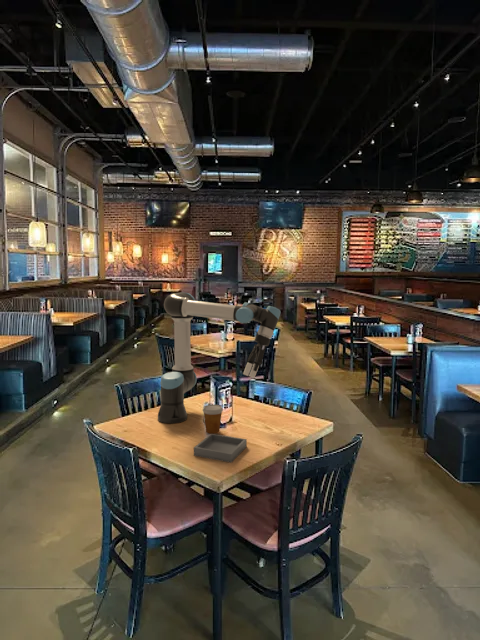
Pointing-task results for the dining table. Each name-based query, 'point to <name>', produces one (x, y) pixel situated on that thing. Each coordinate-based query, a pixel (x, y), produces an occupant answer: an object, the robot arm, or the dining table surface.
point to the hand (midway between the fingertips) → (248, 376)
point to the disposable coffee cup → (212, 418)
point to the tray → (220, 447)
